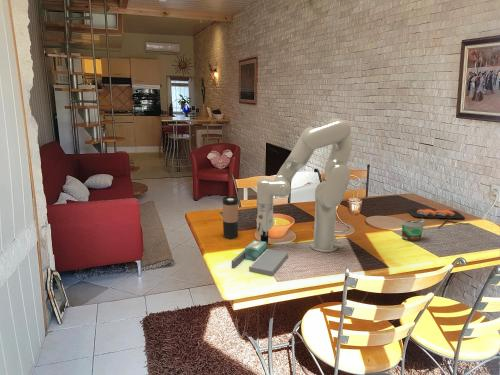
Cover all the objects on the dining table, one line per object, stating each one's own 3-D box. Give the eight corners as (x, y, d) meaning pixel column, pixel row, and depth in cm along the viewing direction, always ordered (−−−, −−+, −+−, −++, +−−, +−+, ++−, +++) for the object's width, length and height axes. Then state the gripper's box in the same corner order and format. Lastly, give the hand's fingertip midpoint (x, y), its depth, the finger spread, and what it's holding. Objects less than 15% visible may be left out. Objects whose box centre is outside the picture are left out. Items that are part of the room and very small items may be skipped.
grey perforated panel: (287, 256, 169) (288, 250, 168) (272, 276, 151) (272, 269, 151) (250, 249, 176) (250, 243, 175) (231, 267, 158) (231, 261, 158)
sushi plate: (455, 213, 232) (456, 207, 231) (479, 230, 203) (480, 224, 202) (406, 211, 234) (406, 205, 233) (422, 228, 205) (423, 222, 204)
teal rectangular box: (266, 252, 173) (266, 241, 172) (257, 260, 164) (257, 250, 163) (254, 249, 175) (254, 239, 174) (245, 258, 167) (245, 247, 165)
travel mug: (230, 232, 197) (229, 195, 192) (241, 236, 193) (241, 198, 188) (220, 236, 192) (219, 198, 187) (231, 240, 187) (230, 201, 182)
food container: (407, 243, 184) (409, 224, 181) (399, 239, 189) (401, 220, 187) (428, 241, 187) (431, 222, 184) (420, 236, 193) (422, 218, 190)
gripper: (266, 211, 166) (265, 250, 170) (278, 202, 179) (277, 238, 184) (250, 209, 169) (250, 247, 173) (263, 200, 182) (263, 236, 187)
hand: (264, 243), depth 178 cm, fingers closed
